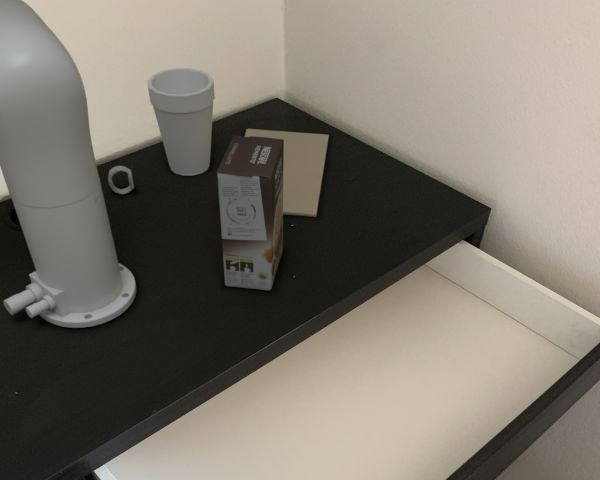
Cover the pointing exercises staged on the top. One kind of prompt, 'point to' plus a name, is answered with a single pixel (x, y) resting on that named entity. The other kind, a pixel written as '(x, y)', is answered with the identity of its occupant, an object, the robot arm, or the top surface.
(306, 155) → the mat
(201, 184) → the top surface
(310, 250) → the top surface
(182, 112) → the foam cup
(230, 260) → the coffee box
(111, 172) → the grey ring
